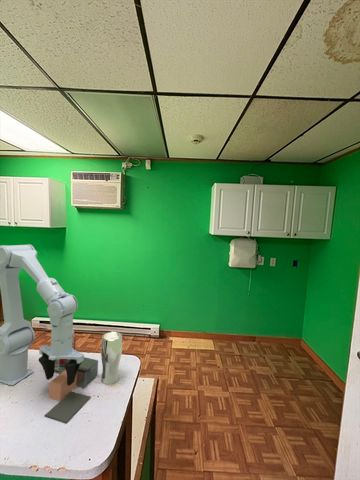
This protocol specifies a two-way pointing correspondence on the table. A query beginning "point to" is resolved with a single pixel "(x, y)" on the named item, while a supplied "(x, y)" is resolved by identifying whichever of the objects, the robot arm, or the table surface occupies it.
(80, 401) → the mat
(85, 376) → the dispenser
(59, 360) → the soda can
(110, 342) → the beer glass
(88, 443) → the table surface
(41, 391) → the table surface
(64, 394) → the salmon orange block
